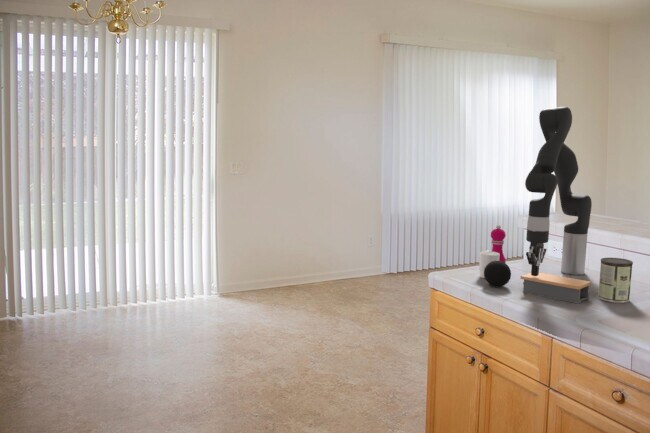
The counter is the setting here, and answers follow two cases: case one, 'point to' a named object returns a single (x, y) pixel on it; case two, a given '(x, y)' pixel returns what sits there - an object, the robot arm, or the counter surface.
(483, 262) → the white cup
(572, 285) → the brown flat rectangular panel
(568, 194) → the robot arm
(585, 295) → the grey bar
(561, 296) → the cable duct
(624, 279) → the coffee can
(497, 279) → the speaker
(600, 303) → the counter surface
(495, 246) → the pepper mill
